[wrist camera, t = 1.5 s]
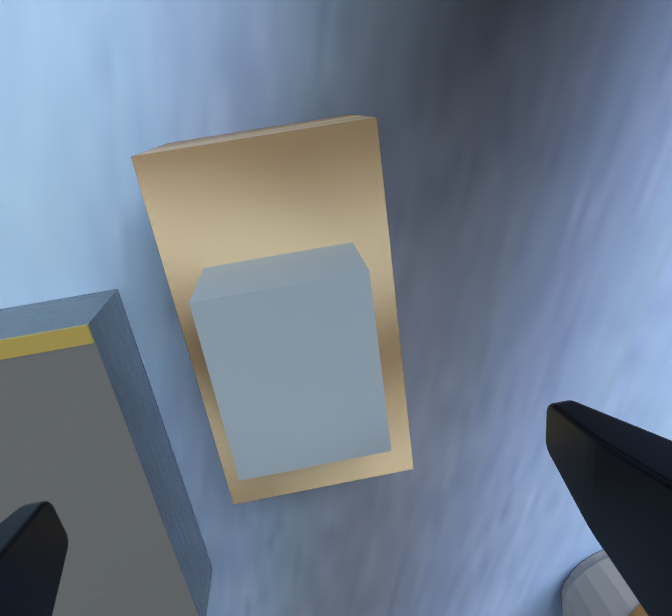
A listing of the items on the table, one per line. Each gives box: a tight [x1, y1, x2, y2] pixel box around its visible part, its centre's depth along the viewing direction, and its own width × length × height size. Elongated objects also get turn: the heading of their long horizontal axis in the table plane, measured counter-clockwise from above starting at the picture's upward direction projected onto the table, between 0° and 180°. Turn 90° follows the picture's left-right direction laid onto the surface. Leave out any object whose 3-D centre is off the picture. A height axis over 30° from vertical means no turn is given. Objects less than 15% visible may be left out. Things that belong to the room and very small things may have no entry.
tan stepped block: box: [131, 114, 413, 504], centre depth 16 cm, size 11×6×4 cm, turn 8°
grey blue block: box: [189, 242, 392, 481], centre depth 13 cm, size 5×4×2 cm
